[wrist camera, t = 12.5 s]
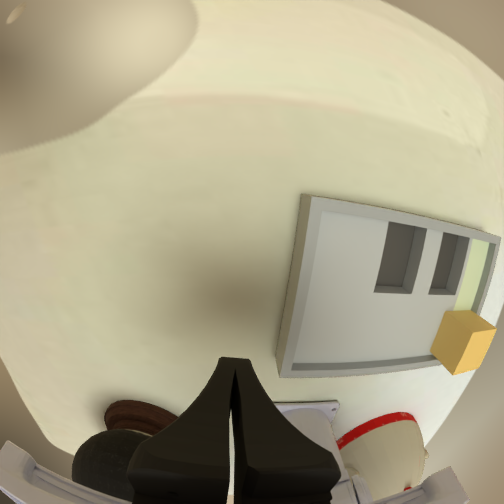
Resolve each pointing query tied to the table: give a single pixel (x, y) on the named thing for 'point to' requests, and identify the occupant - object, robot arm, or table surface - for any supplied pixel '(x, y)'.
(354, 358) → the box
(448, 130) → the table surface
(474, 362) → the block
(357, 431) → the kitchen timer
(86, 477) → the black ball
